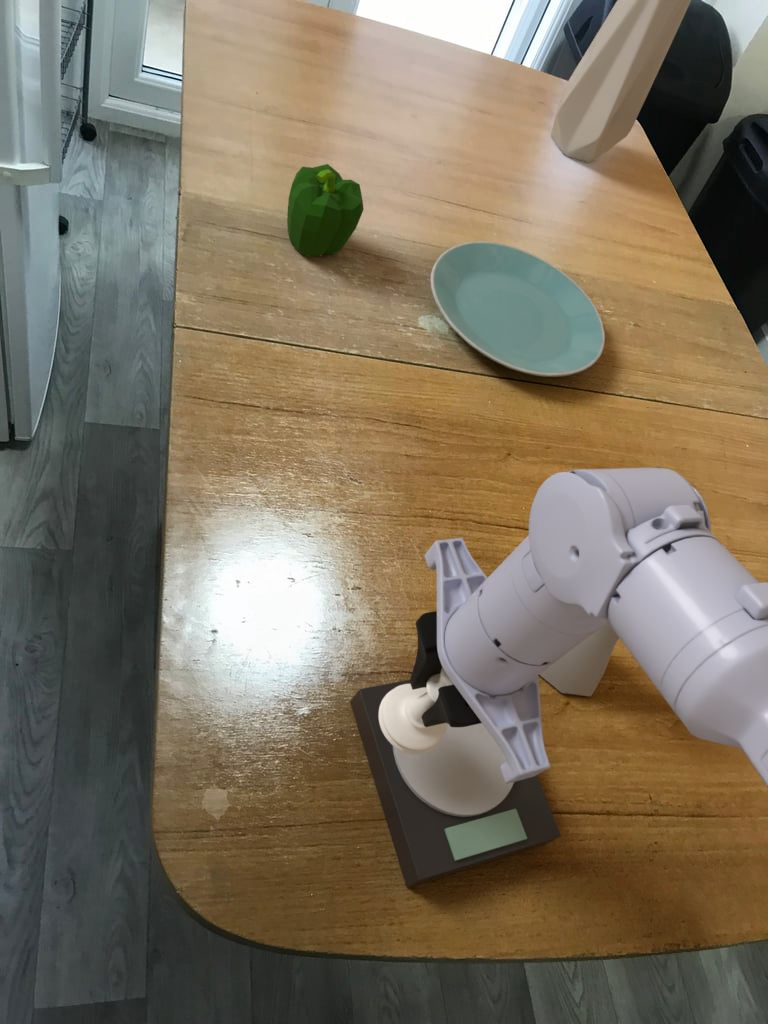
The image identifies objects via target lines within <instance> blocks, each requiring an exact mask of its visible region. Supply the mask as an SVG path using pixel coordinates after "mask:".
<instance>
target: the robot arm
mask: <svg viewBox="0 0 768 1024" xmlns="http://www.w3.org/2000/svg"><path fill="white" fill-rule="evenodd" d="M528 518H529V519H528V535H527V536H526V537H525V538H524V539H523V540H522V541H521V542H520V543H519V544H518V545H517V546H516V547H515V549H513V551H512V552H511V553H509V555H508V556H507V557H506V558H505V559H504V560H503V561H502V562H501V563H500V564H499V565H498V566H497V567H496V568H495V570H493V571H492V573H491V574H490V575H489V576H487V575H486V574H485V572H484V571H483V569H482V568H481V567H480V565H479V564H478V563H477V561H476V560H475V559H474V557H473V555H472V554H471V552H470V550H469V548H468V546H467V544H466V542H465V540H464V537H458V538H448V539H440V540H434V543H433V544H432V545H431V546H430V547H429V549H428V550H427V551H426V552H425V554H424V555H423V556H424V559H425V562H426V565H427V567H428V568H429V570H431V571H435V570H436V571H435V572H436V610H434V611H427V612H424V613H423V614H421V615H420V616H419V617H418V619H417V620H416V621H415V628H416V633H417V649H416V651H417V652H416V658H415V661H414V665H413V668H412V672H411V675H410V678H409V680H410V684H411V687H412V690H414V689H418V688H423V687H426V686H427V682H428V680H429V678H430V677H431V676H433V675H435V674H440V673H441V669H442V667H443V669H444V671H445V672H446V674H447V676H448V677H449V679H450V680H451V681H452V683H453V685H449V686H444V687H440V688H439V689H438V691H439V695H438V698H437V700H436V702H435V703H434V705H433V706H432V707H430V708H429V709H428V710H427V711H425V712H424V713H423V715H422V721H423V724H424V726H425V727H430V726H434V725H438V724H443V723H448V724H449V725H450V726H451V727H467V726H471V725H476V724H480V723H482V724H483V725H484V726H485V728H486V729H487V730H488V732H489V733H490V734H491V736H492V737H493V739H494V740H495V741H496V743H497V744H498V745H499V747H500V748H501V750H502V751H503V753H504V754H505V756H506V758H507V761H506V762H505V763H503V764H502V765H501V772H502V774H503V777H504V780H505V783H506V784H508V783H512V782H516V781H520V780H523V779H527V778H530V777H534V776H536V775H537V776H538V775H540V774H541V773H543V772H545V771H546V770H549V769H550V768H551V762H550V760H549V757H548V754H547V750H546V746H545V742H544V741H545V740H544V733H543V720H542V708H541V693H540V680H539V676H540V675H539V674H540V673H542V672H543V671H544V670H546V669H547V668H548V667H550V666H551V665H552V664H554V663H555V662H556V661H558V660H559V659H560V658H561V657H563V656H564V655H565V654H567V653H568V652H569V651H571V650H572V649H573V648H575V647H576V646H577V645H579V644H580V643H581V642H582V641H584V640H585V639H586V638H588V637H589V636H590V635H592V634H593V633H594V632H596V631H597V630H598V629H600V628H601V627H602V626H604V625H605V624H606V623H609V625H610V626H611V627H612V628H613V630H614V631H615V632H616V634H617V635H618V637H619V640H620V641H621V642H622V643H623V645H624V646H625V648H626V649H627V650H628V651H629V653H630V654H631V655H632V657H633V658H634V659H635V661H636V662H637V664H638V665H639V667H640V668H641V669H642V670H643V672H644V673H645V675H646V676H647V677H648V678H649V680H650V681H651V683H652V684H653V685H654V686H655V688H656V689H657V690H658V692H659V693H660V694H661V696H662V697H663V699H664V700H665V702H666V703H667V704H668V706H669V707H670V708H671V710H672V711H673V713H674V714H675V715H676V717H677V718H679V720H680V721H681V723H682V724H683V725H684V727H685V728H686V730H687V731H688V732H689V733H690V734H691V735H692V736H693V737H695V738H697V739H700V740H704V741H706V742H710V743H716V744H719V745H725V746H728V747H731V748H732V747H733V748H736V749H738V750H741V751H742V752H743V753H744V755H745V756H746V758H747V759H748V760H749V761H750V763H751V765H752V767H753V768H754V769H755V771H756V772H757V773H758V775H759V776H760V778H761V780H762V781H763V783H764V784H765V786H766V787H767V788H768V581H766V582H765V581H764V582H759V581H758V580H757V579H756V577H755V576H754V575H753V574H752V573H751V572H750V571H749V570H748V569H747V568H746V567H745V566H744V565H743V564H742V563H741V562H740V561H739V560H738V559H737V558H736V557H735V556H734V555H733V553H732V552H730V550H729V549H728V548H727V547H726V546H725V545H724V544H723V543H722V542H721V541H720V540H719V539H718V538H717V537H716V536H715V535H714V534H713V532H712V524H711V517H710V513H709V510H708V507H707V504H706V503H705V501H704V498H703V497H702V495H701V494H700V492H699V491H698V489H696V488H695V487H694V485H692V484H691V483H690V482H689V481H688V479H686V478H685V477H684V476H683V475H681V474H680V473H678V472H677V471H675V470H673V469H670V468H667V467H666V468H665V467H663V468H662V467H661V466H660V467H659V466H656V467H653V466H652V467H626V468H625V467H622V468H621V467H620V468H617V467H616V468H588V469H585V468H584V469H583V468H582V469H572V470H569V471H560V472H556V473H554V474H552V475H550V476H549V477H548V478H546V479H545V480H544V481H543V482H542V484H541V485H540V486H539V488H538V490H537V492H536V493H535V496H534V497H533V500H532V504H531V507H530V511H529V517H528Z"/></svg>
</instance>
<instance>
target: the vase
mask: <svg viewBox="0 0 768 1024" xmlns="http://www.w3.org/2000/svg"><path fill="white" fill-rule="evenodd" d="M691 2H692V0H616V2H615V3H614V5H613V6H612V9H611V10H610V12H609V13H608V15H607V17H606V18H605V20H604V21H603V23H602V25H601V26H600V28H599V29H598V31H597V32H596V34H595V36H594V38H593V40H592V41H591V43H590V45H589V46H588V48H587V50H586V51H585V53H584V54H583V56H582V58H581V59H580V61H579V62H578V64H577V65H576V67H575V69H574V70H573V73H572V74H571V76H570V77H569V79H568V81H567V82H566V84H565V86H564V88H563V90H562V92H561V96H560V99H559V102H558V107H557V110H556V112H555V118H554V121H553V126H552V130H551V133H550V138H551V139H552V140H553V142H554V144H555V145H556V146H557V148H558V150H560V152H561V153H562V154H563V155H564V156H565V157H569V158H573V159H575V160H578V161H582V162H585V163H589V164H590V163H593V162H595V161H596V160H598V159H599V158H600V157H601V156H603V155H604V154H606V152H607V153H608V151H609V150H611V149H612V148H614V147H615V146H616V145H617V144H618V143H620V142H621V141H623V140H624V139H626V138H627V136H628V135H629V134H630V133H631V131H632V129H633V126H634V125H635V124H636V123H635V122H636V120H637V119H638V116H639V114H640V112H641V109H642V108H643V106H644V104H645V101H646V99H647V97H648V95H649V93H650V91H651V88H652V86H653V84H654V81H655V79H656V78H657V76H658V74H659V71H660V69H661V67H662V65H663V62H664V60H665V58H666V56H667V54H668V52H669V49H670V47H671V46H672V44H673V41H674V39H675V37H676V34H677V32H678V30H679V28H680V26H681V24H682V21H683V19H684V17H685V15H686V13H687V10H688V9H689V7H690V4H691Z"/></svg>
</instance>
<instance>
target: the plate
mask: <svg viewBox="0 0 768 1024" xmlns="http://www.w3.org/2000/svg"><path fill="white" fill-rule="evenodd" d="M429 281H430V289H431V293H432V298H433V300H434V303H435V305H436V307H437V308H438V311H439V312H440V314H441V315H442V317H443V318H444V320H445V321H446V323H447V324H448V326H450V327H451V328H452V330H453V331H454V332H455V333H456V334H457V335H458V336H459V337H460V338H461V339H462V340H463V341H464V342H466V343H467V344H468V345H469V346H470V347H472V348H473V349H474V350H475V351H477V352H478V353H480V354H481V355H483V356H484V357H486V358H488V359H489V360H491V361H493V362H495V363H497V364H499V365H501V366H502V367H505V368H508V369H510V370H513V371H516V372H520V373H522V374H527V375H531V376H536V377H543V378H544V377H545V378H546V377H547V378H559V377H560V378H561V377H567V376H572V375H576V374H579V373H581V372H584V371H585V370H588V369H589V368H590V367H592V366H594V364H596V363H597V361H598V360H599V359H600V357H601V356H602V354H603V351H604V348H605V343H606V341H605V340H606V334H605V333H606V332H605V328H604V323H603V320H602V317H601V315H600V313H599V311H598V309H597V307H596V305H595V304H594V302H593V300H592V299H591V298H590V297H589V295H588V294H587V293H586V291H585V290H583V288H582V287H581V286H579V284H578V283H577V282H575V280H574V279H573V278H571V277H570V276H568V275H567V273H565V272H564V271H562V270H561V269H560V268H558V267H556V266H554V265H553V264H552V263H550V262H548V261H546V260H545V259H544V258H541V257H539V256H537V255H536V254H533V253H531V252H529V251H526V250H524V249H521V248H518V247H515V246H513V245H509V244H505V243H500V242H495V241H483V240H482V241H469V242H464V243H460V244H456V245H454V246H452V247H450V248H448V249H447V250H445V251H444V252H443V253H441V254H440V255H439V256H438V258H437V259H436V260H435V262H434V264H433V266H432V269H431V273H430V280H429Z"/></svg>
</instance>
